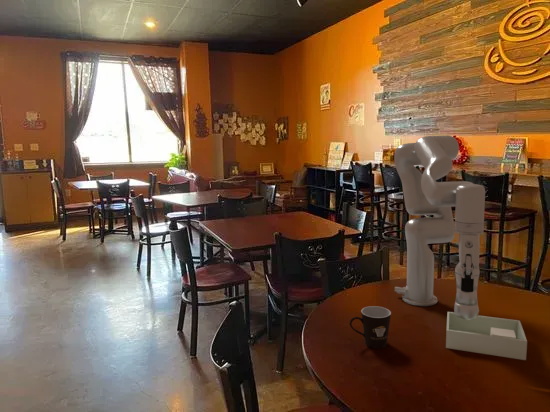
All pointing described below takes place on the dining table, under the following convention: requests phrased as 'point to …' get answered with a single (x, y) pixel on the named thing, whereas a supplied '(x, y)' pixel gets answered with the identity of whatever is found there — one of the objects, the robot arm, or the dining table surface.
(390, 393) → the dining table surface
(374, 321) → the coffee mug
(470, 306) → the plastic bottle
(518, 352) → the crate
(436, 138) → the robot arm
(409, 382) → the dining table surface
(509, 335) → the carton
